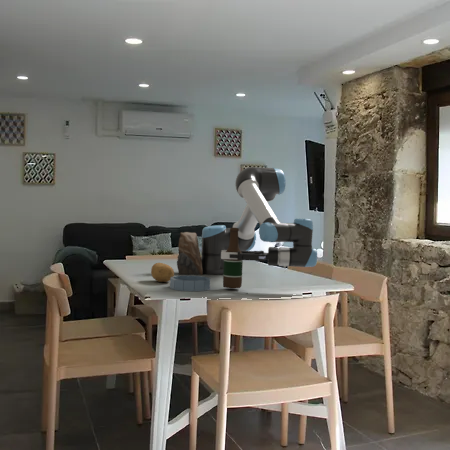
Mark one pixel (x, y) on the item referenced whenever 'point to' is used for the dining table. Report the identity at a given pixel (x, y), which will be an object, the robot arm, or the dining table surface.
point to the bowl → (190, 283)
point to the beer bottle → (233, 263)
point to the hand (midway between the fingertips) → (221, 254)
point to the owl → (189, 255)
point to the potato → (162, 272)
